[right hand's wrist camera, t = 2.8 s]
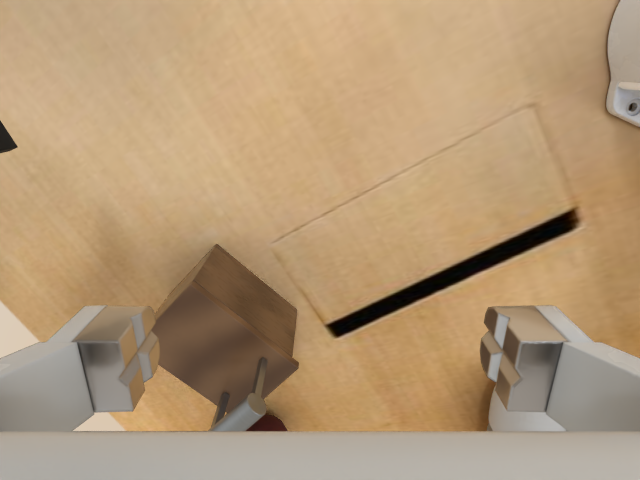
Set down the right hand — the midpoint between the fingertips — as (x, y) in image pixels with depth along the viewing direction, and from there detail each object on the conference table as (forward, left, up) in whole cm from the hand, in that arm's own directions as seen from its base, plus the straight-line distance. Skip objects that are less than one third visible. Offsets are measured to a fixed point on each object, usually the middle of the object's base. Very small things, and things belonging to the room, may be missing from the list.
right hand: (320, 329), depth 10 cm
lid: (-2, +23, -27) cm, 35 cm away
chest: (-2, +22, -37) cm, 43 cm away
